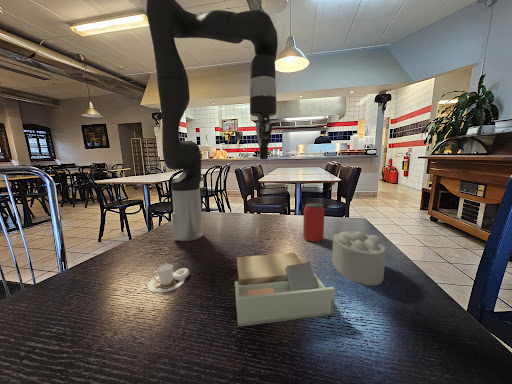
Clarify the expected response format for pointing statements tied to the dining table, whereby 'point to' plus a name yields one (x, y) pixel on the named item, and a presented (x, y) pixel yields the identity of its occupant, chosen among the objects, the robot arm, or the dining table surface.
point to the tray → (282, 303)
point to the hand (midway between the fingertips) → (263, 159)
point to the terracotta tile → (260, 291)
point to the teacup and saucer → (167, 277)
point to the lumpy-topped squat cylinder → (359, 257)
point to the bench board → (265, 268)
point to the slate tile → (300, 277)
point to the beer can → (313, 222)
